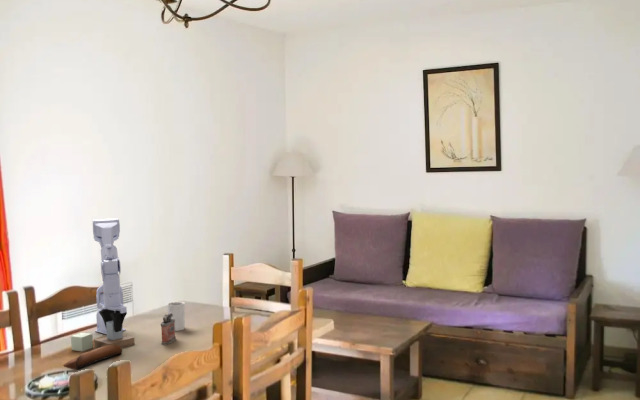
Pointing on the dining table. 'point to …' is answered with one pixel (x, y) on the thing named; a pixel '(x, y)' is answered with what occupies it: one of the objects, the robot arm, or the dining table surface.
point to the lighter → (168, 329)
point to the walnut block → (114, 341)
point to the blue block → (113, 331)
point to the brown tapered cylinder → (93, 356)
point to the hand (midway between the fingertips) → (113, 330)
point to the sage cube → (82, 341)
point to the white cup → (177, 314)
